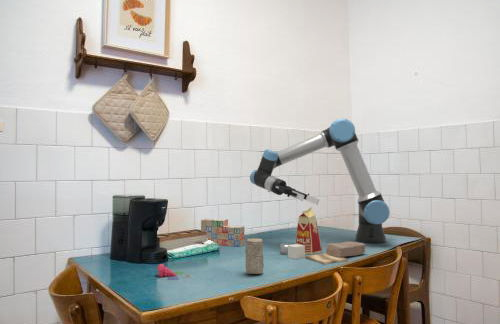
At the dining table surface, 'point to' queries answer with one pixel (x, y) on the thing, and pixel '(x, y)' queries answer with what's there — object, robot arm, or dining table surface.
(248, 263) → the carving
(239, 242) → the stack of blocks
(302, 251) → the white cube
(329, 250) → the brick
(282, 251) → the grey tin
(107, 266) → the dining table surface
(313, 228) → the milk carton
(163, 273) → the toy pieces
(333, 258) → the plate
